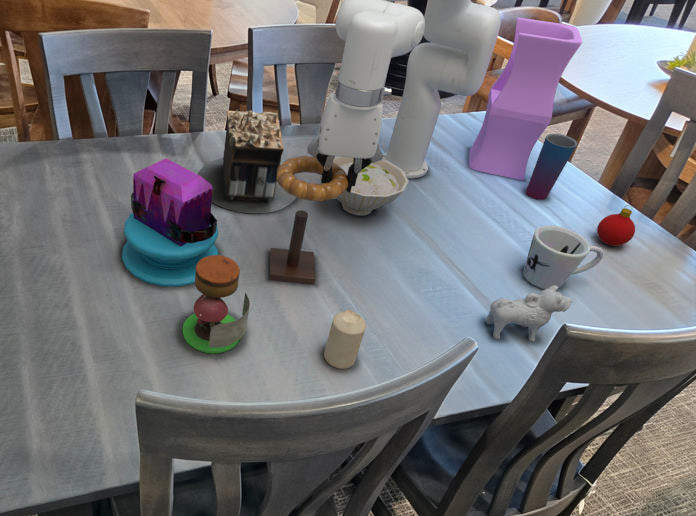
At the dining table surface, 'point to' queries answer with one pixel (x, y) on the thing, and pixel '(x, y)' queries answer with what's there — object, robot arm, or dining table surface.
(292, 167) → the ring
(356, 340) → the candle
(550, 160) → the cup
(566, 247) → the mug
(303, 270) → the post
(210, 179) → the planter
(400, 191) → the bowl
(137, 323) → the dining table surface
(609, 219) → the christmas ornament
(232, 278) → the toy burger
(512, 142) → the container
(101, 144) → the dining table surface
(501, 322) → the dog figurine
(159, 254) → the decorative object
